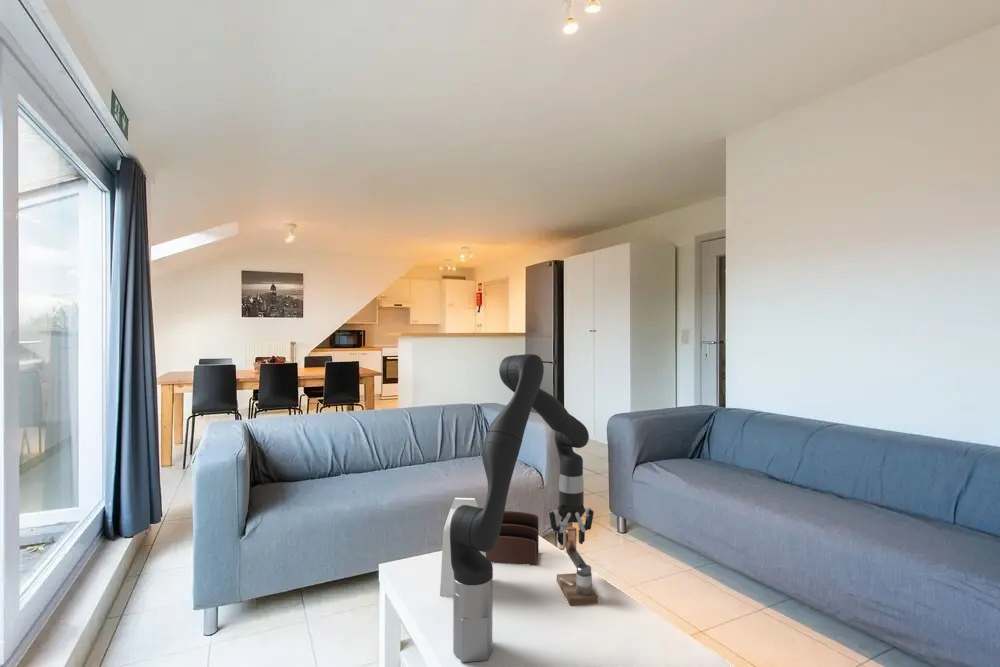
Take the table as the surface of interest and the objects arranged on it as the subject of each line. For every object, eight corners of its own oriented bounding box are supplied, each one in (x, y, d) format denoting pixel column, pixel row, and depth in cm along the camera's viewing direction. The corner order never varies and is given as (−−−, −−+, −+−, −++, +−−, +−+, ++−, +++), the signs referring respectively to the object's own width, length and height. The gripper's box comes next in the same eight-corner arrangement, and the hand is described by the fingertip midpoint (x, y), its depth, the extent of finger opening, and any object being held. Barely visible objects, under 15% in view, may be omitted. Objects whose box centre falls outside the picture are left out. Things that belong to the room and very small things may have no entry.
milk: (486, 578, 153) (487, 493, 154) (481, 598, 142) (482, 505, 142) (447, 576, 155) (448, 492, 155) (439, 596, 143) (440, 504, 143)
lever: (593, 575, 140) (593, 548, 140) (579, 576, 140) (579, 549, 140) (575, 550, 157) (575, 526, 157) (563, 551, 156) (563, 527, 156)
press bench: (597, 603, 139) (597, 578, 139) (568, 605, 138) (569, 580, 138) (582, 579, 153) (582, 556, 153) (556, 581, 152) (556, 557, 152)
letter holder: (481, 549, 175) (481, 508, 175) (538, 553, 172) (538, 511, 172) (476, 562, 165) (476, 519, 165) (536, 566, 162) (536, 522, 163)
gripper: (551, 493, 150) (551, 550, 150) (597, 491, 152) (597, 547, 152) (545, 485, 158) (545, 540, 158) (589, 484, 160) (589, 537, 160)
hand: (571, 543), depth 155 cm, fingers open, 5 cm apart
